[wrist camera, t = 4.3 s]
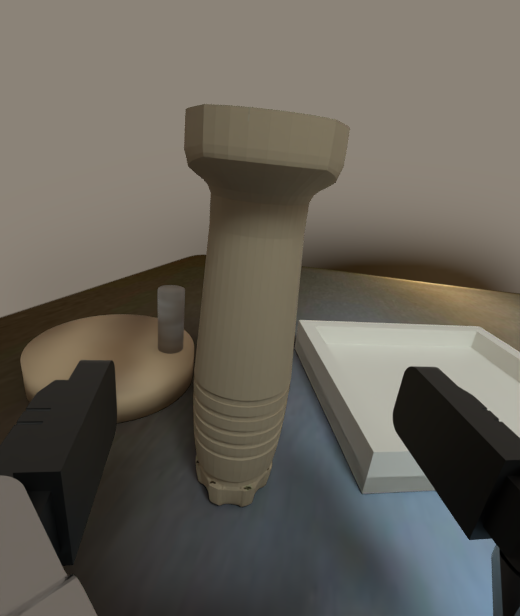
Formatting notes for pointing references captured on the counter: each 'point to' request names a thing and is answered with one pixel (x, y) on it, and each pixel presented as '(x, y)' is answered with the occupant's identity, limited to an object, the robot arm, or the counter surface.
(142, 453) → the counter surface
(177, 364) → the crank wheel
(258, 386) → the handle
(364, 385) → the tray
